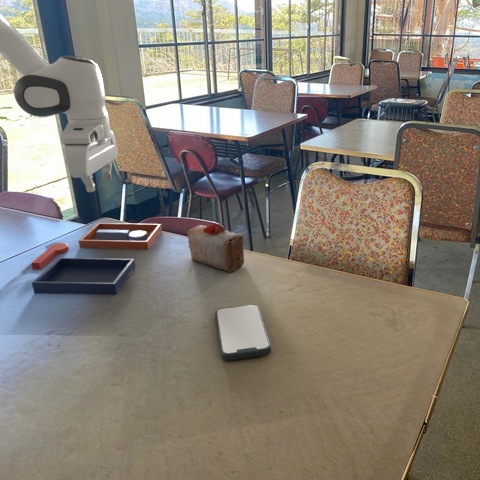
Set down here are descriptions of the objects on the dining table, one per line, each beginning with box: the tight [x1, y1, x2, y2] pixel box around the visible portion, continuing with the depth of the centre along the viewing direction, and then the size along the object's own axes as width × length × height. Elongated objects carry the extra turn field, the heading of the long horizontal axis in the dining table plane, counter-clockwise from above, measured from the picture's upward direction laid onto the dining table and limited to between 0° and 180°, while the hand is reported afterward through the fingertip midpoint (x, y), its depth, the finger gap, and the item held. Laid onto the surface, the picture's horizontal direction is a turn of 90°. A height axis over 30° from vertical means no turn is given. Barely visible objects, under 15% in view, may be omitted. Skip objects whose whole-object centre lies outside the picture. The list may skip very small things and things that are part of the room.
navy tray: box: [31, 257, 136, 295], centre depth 107 cm, size 17×12×2 cm
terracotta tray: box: [78, 222, 163, 250], centre depth 127 cm, size 17×12×2 cm
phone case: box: [214, 304, 272, 362], centre depth 89 cm, size 9×2×16 cm
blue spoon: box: [96, 230, 147, 241], centre depth 127 cm, size 13×5×2 cm, turn 91°
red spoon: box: [31, 242, 70, 271], centre depth 116 cm, size 13×5×2 cm, turn 1°
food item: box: [187, 221, 245, 273], centre depth 115 cm, size 14×8×10 cm, turn 59°
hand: (99, 185), depth 119 cm, fingers open, 8 cm apart
